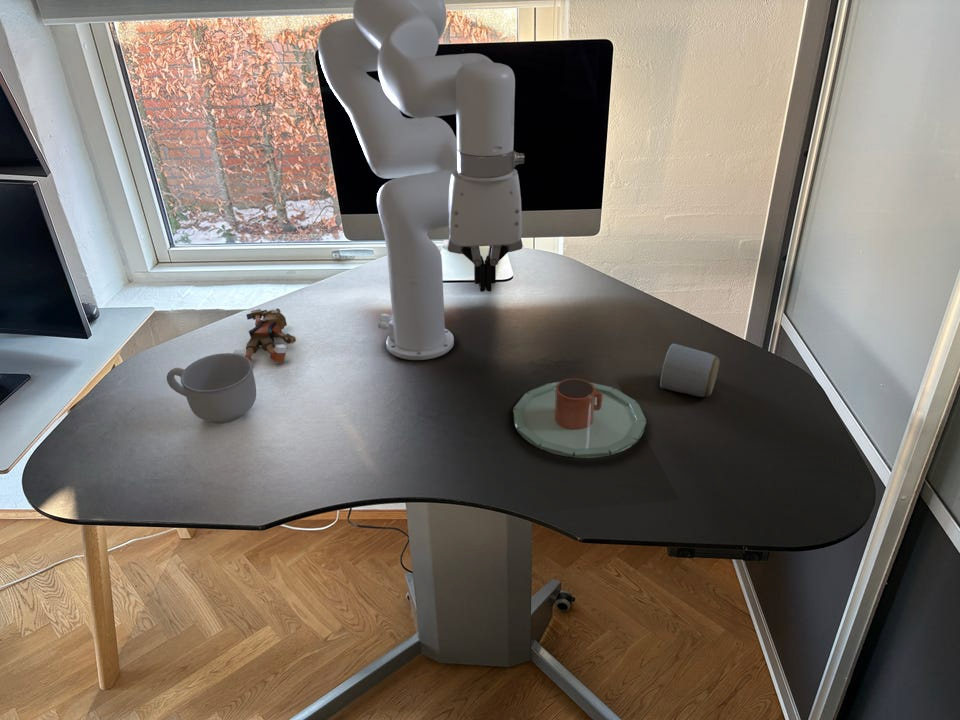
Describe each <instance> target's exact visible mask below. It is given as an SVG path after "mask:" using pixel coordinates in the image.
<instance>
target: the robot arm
mask: <svg viewBox="0 0 960 720" xmlns="http://www.w3.org/2000/svg"><path fill="white" fill-rule="evenodd" d="M353 3H354V4H353V8H352V16H353V18H345V19H340V20H335V21H332V22H330V23H329V24H327V25H326V26H325V27H323V29H322V30H321V31H320V33H319V35H318V39H317V40H318V41H317V49H318V58H319V63H320V65H321V69H322V72H323V74H324V77H325V79H326V82H327V83H328V85H329V88H330V89H331V91H332V92H333V94H334V96H335V97H336V99H337V100H338V101H339V102H340V104H341V105H342V107H343V108H344V110H345V112H346V113H347V114H348V116H349V118H350V121H351V123H352V126H353V129H354V131H355V134H356V136H357V139H358V141H359V144H360V146H361V148H362V151H363V154H364V156H365V159H366V162H367V163H368V165H369V167H370V169H371V171H372V172H373V173H374V174H375V175H376V176H377V177H379V178H381V179H388V181H387V182H385V183H384V184H382V185H381V187H380V188H379V190H378V192H377V195H376V207H377V211H378V216H379V220H380V224H381V227H382V231H383V237H384V241H385V248H386V258H387V259H386V260H387V269H388V279H389V292H390V303H391V314H387V313H381V315H380V317H379V322H378V324H377V327H378V329H379V330H383V331H388V336H387V338H386V340H385V343H386V349H387V351H388V352H389V353H390V355H393V356H395V357H397V358H399V359H402V360H403V359H404V360H409V361H425V360H431V359H436V358H438V357H441V356H443V355H446V354H447V353H449V351H451V349H453V347H454V345H455V337H454V335H453V333H452V332H451V331H450V330H449V329H447V328H446V324H445V323H446V322H445V300H444V298H445V297H444V281H443V279H444V277H443V257H442V253H441V250H440V249H439V247H438V246H437V245H436V244H435V242H434V241H433V240H431V238H429V236H428V233H429V232H431V231H435V230H438V229H443V228H448V234H449V236H448V240H447V244H446V247H447V251H448V252H449V253H454V254H458V255H463V256H465V258H466V259H468V261H470V262H471V263H472V264H473V266H474V267H473V272H474V273H473V275H474V285H478V287H479V291H480V292H481V293H484V292H485V291H487V292H492V284H496V282H497V278H496V277H497V266H498V264H499V262H500V261H501V260H502V259H503V258H504V257H505V256H506V255H507V254H508V253H512V252H516V251H520V250H522V249H523V247H524V245H523V240H522V233H523V217H522V216H523V214H522V211H523V210H522V197H521V195H522V194H521V187H520V186H521V185H520V178H519V174H518V170H517V169H515V168H516V167H517V165H518V166H519V164H520V165H521V164H525V154H524V152H523V153H522V152H520V153H519V152H516V150H514V144H515V143H514V141H515V139H514V137H515V136H514V135H515V96H516V94H515V93H516V77H515V73H514V71H513V69H512V68H511V67H510V66H509V65H507V64H503V63H500V62H494V61H493V60H491V59H490V58H489V57H488V56H486V55H484V54H481V53H475V52H473V53H471V52H469V53H459V54H458V53H457V54H443V55H437V52H438V48H439V42H440V41H439V40H440V39H441V38H442V37H443V34H444V32H445V29H446V26H447V19H448V17H447V15H448V14H447V8H446V4H445V0H355V1H354V2H353ZM367 72H377V73H378V78H379V81H380V82H379V81H378V80H377V79H375V78H373V77H372V76H370V75H369V74H368V73H367ZM403 114H404V115H406V116H408V117H410V118H408V117H405V116H403ZM451 115H455V118H456V122H455V123H456V135H455V133H454V131H453V129H452V128H451V126H450V124H448V123H447V122H446V121H445V120H443V118H440V117H442V116H451ZM389 179H390V180H389ZM480 247H488V252H487V255H486V257H485V259H484V257H483V256H482V255H481V249H480Z"/></svg>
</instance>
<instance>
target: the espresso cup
mask: <svg viewBox="0 0 960 720" xmlns="http://www.w3.org/2000/svg"><path fill="white" fill-rule="evenodd" d="M558 382H559V383H558V384H557V385H556V388H555V411H554V419H555V421H556V423H557V424H558V425H560V426H561V427H564V428H567V429H573V430H578V429H584V428H587V427H589V426H590V425H591V424H592V423H593V419H594V411H595V410H600V409H601V408H602V396H603V394H602V393H601V392H600V391H599V392H596V389H595V387H594V385H593V384H591V383H592V382H591V383H590V381H588V380H585V379H583V378H566V379H563V380H561V381H558ZM595 397H597V405H595Z"/></svg>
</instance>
